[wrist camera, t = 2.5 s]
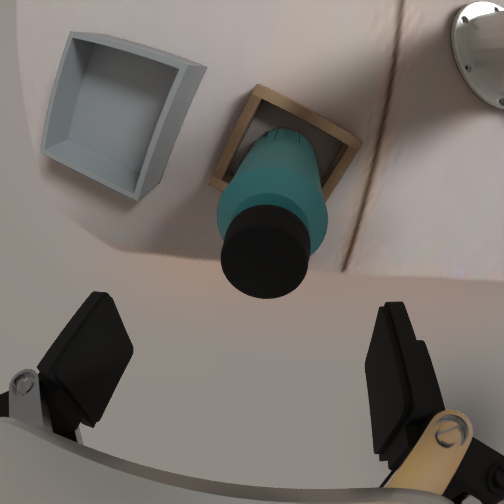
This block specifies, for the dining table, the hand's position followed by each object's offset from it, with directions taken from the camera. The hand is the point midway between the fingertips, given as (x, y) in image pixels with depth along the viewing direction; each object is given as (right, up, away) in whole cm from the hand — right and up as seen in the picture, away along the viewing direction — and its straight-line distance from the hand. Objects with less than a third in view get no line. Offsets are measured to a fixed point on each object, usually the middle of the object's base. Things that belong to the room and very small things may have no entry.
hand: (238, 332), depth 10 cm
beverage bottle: (+4, +12, +20) cm, 24 cm away
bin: (-13, +19, +19) cm, 30 cm away
